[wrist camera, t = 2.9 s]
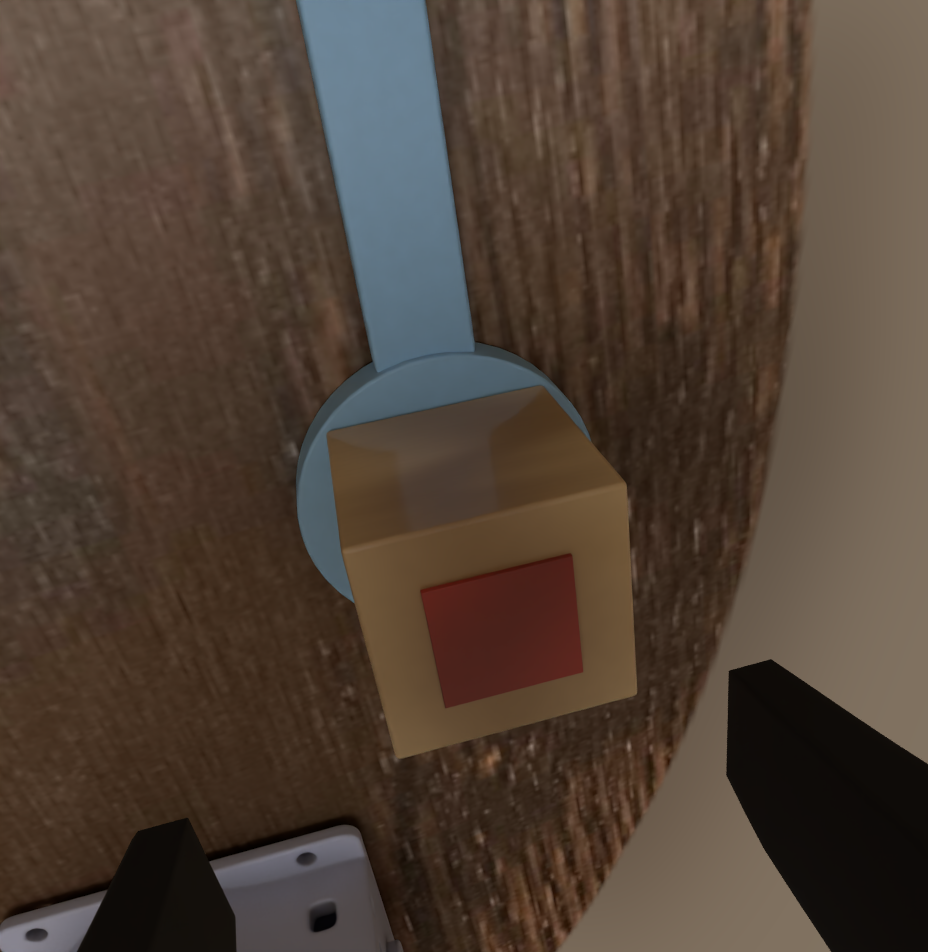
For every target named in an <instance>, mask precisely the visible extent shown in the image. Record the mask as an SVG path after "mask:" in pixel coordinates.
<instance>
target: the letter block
mask: <svg viewBox="0 0 928 952" xmlns="http://www.w3.org/2000/svg"><path fill="white" fill-rule="evenodd" d="M326 437H327V445H328V453H329V461H330V469H331V476H332V484H333V492H334V500H335V508H336V515H337V523H338V531H339V539H340V547H341V554H342V557H343V561H344V565H345V569H346V572H347V576H348V580H349V584H350V587H351V591H352V595H353V599H354V602H355V606H356V610H357V614H358V617H359V621H360V625H361V629H362V633H363V636H364V640H365V644H366V648H367V651H368V655H369V659H370V663H371V666H372V670H373V674H374V678H375V681H376V685H377V689H378V693H379V696H380V700H381V704H382V708H383V711H384V715H385V719H386V723H387V727H388V730H389V734H390V738H391V742H392V745H393V749H394V753H395V755H396V757H397V758H398V759H402V758H406V757H409V756H413V755H417V754H420V753H424V752H428V751H432V750H435V749H439V748H443V747H446V746H450V745H454V744H457V743H461V742H465V741H469V740H472V739H476V738H480V737H483V736H487V735H491V734H494V733H498V732H502V731H506V730H509V729H513V728H517V727H520V726H524V725H528V724H532V723H535V722H539V721H543V720H546V719H550V718H554V717H557V716H561V715H565V714H569V713H572V712H576V711H580V710H583V709H587V708H591V707H594V706H598V705H602V704H606V703H609V702H613V701H617V700H620V699H624V698H628V697H631V696H634V695H636V694H637V678H636V658H635V638H634V618H633V598H632V579H631V559H630V539H629V519H628V499H627V484H626V483H625V481H624V480H623V479H622V478H621V476H620V475H619V474H618V473H617V472H616V471H615V469H614V468H613V467H612V466H611V465H610V464H609V462H608V461H607V460H606V459H605V458H604V457H603V455H602V454H601V453H600V452H599V451H598V450H597V448H596V447H595V446H594V445H593V444H592V442H591V441H590V440H589V439H588V438H587V437H586V435H585V434H584V433H583V432H582V431H581V430H580V428H579V427H578V426H577V425H576V424H575V423H574V421H573V420H572V419H571V418H570V417H569V416H568V414H567V413H566V412H565V411H564V410H563V409H562V407H561V406H560V405H559V404H558V403H557V401H556V400H555V399H554V398H553V397H552V396H551V394H550V393H549V392H548V391H547V390H546V389H545V387H544V386H541V385H539V386H534V387H529V388H525V389H520V390H516V391H511V392H507V393H502V394H497V395H493V396H488V397H484V398H479V399H475V400H470V401H465V402H461V403H456V404H452V405H447V406H442V407H438V408H433V409H429V410H424V411H420V412H415V413H410V414H406V415H401V416H397V417H392V418H388V419H383V420H378V421H374V422H369V423H365V424H360V425H356V426H351V427H346V428H342V429H337V430H333V431H329V432H327V436H326Z"/></svg>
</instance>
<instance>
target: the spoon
mask: <svg viewBox="0 0 928 952" xmlns="http://www.w3.org/2000/svg"><path fill="white" fill-rule="evenodd" d="M296 4H297V8H298V13H299V18H300V22H301V27H302V32H303V36H304V41H305V46H306V51H307V55H308V60H309V65H310V69H311V74H312V79H313V84H314V88H315V93H316V98H317V102H318V107H319V112H320V117H321V121H322V126H323V131H324V135H325V140H326V145H327V150H328V154H329V159H330V164H331V168H332V173H333V178H334V182H335V187H336V192H337V197H338V201H339V206H340V211H341V215H342V220H343V225H344V230H345V234H346V239H347V244H348V248H349V253H350V258H351V263H352V267H353V272H354V277H355V281H356V286H357V291H358V296H359V300H360V305H361V310H362V314H363V319H364V324H365V329H366V333H367V338H368V343H369V347H370V352H371V357H372V361H373V362H372V363H370V364H368V365H366V366H365V367H363V368H361V369H360V370H359V371H357V372H356V373H355V374H353V375H352V376H351V377H350V378H348V379H347V380H346V381H345V382H344V383H343V384H342V385H341V386H339V387H338V388H337V389H336V390H335V391H334V392H333V393H332V394H331V396H330V397H329V398H328V399H327V401H326V402H325V403H324V405H323V406H322V407H321V408H320V410H319V411H318V413H317V415H316V416H315V418H314V420H313V422H312V423H311V425H310V427H309V429H308V431H307V434H306V436H305V439H304V441H303V444H302V447H301V451H300V455H299V459H298V464H297V475H296V495H297V515H298V522H299V526H300V531H301V536H302V538H303V541H304V543H305V546H306V549H307V551H308V553H309V555H310V557H311V559H312V560H313V562H314V564H315V566H316V567H317V568H318V570H319V571H320V572H321V574H322V575H323V576H324V577H325V579H326V580H327V581H328V582H329V583H330V584H331V585H332V586H333V587H334V588H335V589H336V590H337V591H339V592H340V593H341V594H342V595H344V596H345V597H347V598H348V599H349V600H351V601H352V602H353V603H355V602H354V599H353V595H352V591H351V587H350V584H349V580H348V576H347V572H346V569H345V565H344V561H343V557H342V554H341V547H340V539H339V531H338V523H337V515H336V508H335V500H334V492H333V484H332V476H331V469H330V461H329V453H328V445H327V437H326V436H327V432H329V431H333V430H337V429H342V428H346V427H351V426H356V425H360V424H365V423H369V422H374V421H378V420H383V419H388V418H392V417H397V416H401V415H406V414H410V413H415V412H420V411H424V410H429V409H433V408H438V407H442V406H447V405H452V404H456V403H461V402H465V401H470V400H475V399H479V398H484V397H488V396H493V395H497V394H502V393H507V392H511V391H516V390H520V389H525V388H529V387H534V386H539V385H541V386H544V387H545V389H546V390H547V391H548V392H549V393H550V394H551V396H552V397H553V398H554V399H555V400H556V401H557V403H558V404H559V405H560V406H561V407H562V409H563V410H564V411H565V412H566V413H567V414H568V416H569V417H570V418H571V419H572V420H573V421H574V423H575V424H576V425H577V426H578V427H579V428H580V430H581V431H582V432H583V433H584V434H585V435H586V437H587V438H588V439H589V440H590V441H591V439H590V436H589V433H588V431H587V429H586V426H585V424H584V422H583V420H582V418H581V416H580V415H579V413H578V412H577V410H576V409H575V408H574V406H573V405H572V403H571V402H570V401H569V400H568V399H567V397H566V396H565V395H564V394H563V393H562V392H561V391H560V390H559V389H558V387H557V386H556V385H555V384H554V383H553V382H552V381H551V380H550V379H549V378H548V377H547V376H546V375H545V374H544V373H543V372H541V371H540V370H539V369H538V368H536V367H535V366H534V365H533V364H531V363H529V362H528V361H526V360H524V359H523V358H521V357H519V356H517V355H515V354H513V353H511V352H508V351H506V350H503V349H501V348H498V347H494V346H490V345H486V344H482V343H476V342H475V341H474V334H473V327H472V320H471V313H470V306H469V299H468V292H467V285H466V278H465V272H464V265H463V258H462V251H461V244H460V237H459V230H458V223H457V216H456V209H455V202H454V195H453V188H452V181H451V174H450V167H449V160H448V153H447V146H446V139H445V132H444V125H443V118H442V111H441V105H440V98H439V91H438V84H437V77H436V70H435V63H434V56H433V49H432V42H431V35H430V28H429V21H428V14H427V7H426V0H296Z"/></svg>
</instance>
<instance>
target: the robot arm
mask: <svg viewBox="0 0 928 952" xmlns="http://www.w3.org/2000/svg"><path fill="white" fill-rule="evenodd" d="M728 690H729V691H728V730H727V772H726V773H727V774H726V775H727V777H728V779H729V781H730V783H731V785H732V787H733V789H734V791H735V793H736V795H737V797H738V799H739V801H740V803H741V805H742V808H743V809H744V812H745V814H746V815H747V817H748V819H749V821H750V823H751V825H752V827H753V829H754V831H755V833H756V834H757V837H758V838H759V840H760V842H761V844H762V846H763V848H764V849H765V851H766V853H767V854H768V856H769V857H770V859H771V860H772V862H773V864H774V865H775V867H776V868H777V870H778V871H779V873H780V874H781V876H782V878H783V879H784V881H785V882H786V884H787V885H788V887H789V888H790V890H791V891H792V893H793V894H794V896H795V897H796V899H797V901H798V902H799V903H800V905H801V907H802V908H803V910H804V911H805V913H806V914H807V916H808V917H809V919H810V920H811V922H812V923H813V925H814V926H815V928H816V929H817V931H818V932H819V934H820V935H821V937H822V938H823V940H824V941H825V943H826V945H827V946H828V947H829V949H830V951H831V952H928V764H927V763H925V762H924V761H922V760H921V759H919V758H918V757H916V756H914V755H913V754H911V753H910V752H908V751H907V750H905V749H904V748H902V747H900V746H899V745H897V744H896V743H894V742H893V741H891V740H890V739H888V738H887V737H885V736H884V735H882V734H880V733H879V732H878V731H876V730H875V729H873V728H871V727H870V726H869V725H867V724H866V723H864V722H863V721H861V720H860V719H858V718H857V717H855V716H854V715H852V714H851V713H849V712H848V711H846V710H845V709H843V708H842V707H840V706H839V705H838V704H836V703H835V702H833V701H832V700H830V699H829V698H827V697H826V696H824V695H823V694H821V693H820V692H819V691H817V690H816V689H814V688H813V687H811V686H810V685H808V684H807V683H805V682H804V681H802V680H801V679H799V678H798V677H797V676H795V675H794V674H792V673H791V672H789V671H788V670H786V669H785V668H783V667H782V666H780V665H779V664H777V663H776V662H774V661H773V660H771V659H770V660H767V661H763V662H759V663H756V664H752V665H748V666H745V667H741V668H737V669H734V670H730V671H729V687H728ZM307 852H309V853H307ZM0 949H1V951H2V952H404V951H403V948H402V944H401V942H400V941H399V940H398V939H397V940H394V937H393V934H392V931H391V927H390V924H389V921H388V918H387V915H386V912H385V909H384V905H383V902H382V899H381V896H380V893H379V890H378V887H377V883H376V880H375V877H374V874H373V871H372V868H371V865H370V861H369V858H368V855H367V852H366V849H365V846H364V843H363V839H362V836H361V833H360V831H359V830H358V829H357V828H356V827H354V826H351V825H339V826H335V827H331V828H328V829H324V830H321V831H317V832H313V833H310V834H306V835H303V836H299V837H295V838H292V839H288V840H285V841H281V842H277V843H274V844H270V845H267V846H263V847H259V848H256V849H252V850H248V851H245V852H241V853H238V854H234V855H230V856H227V857H223V858H220V859H216V860H212V861H208V858H207V856H206V854H205V852H204V850H203V848H202V846H201V844H200V842H199V840H198V838H197V836H196V834H195V832H194V830H193V827H192V825H191V823H190V821H189V819H188V818H185V819H181V820H177V821H174V822H170V823H166V824H162V825H159V826H155V827H151V828H148V829H144V830H140V831H138V832H137V833H136V835H135V836H134V838H133V839H132V841H131V843H130V845H129V847H128V849H127V851H126V853H125V855H124V857H123V859H122V861H121V863H120V865H119V867H118V870H117V872H116V874H115V876H114V878H113V880H112V882H111V884H110V886H109V888H108V890H104V891H101V892H97V893H94V894H90V895H86V896H83V897H79V898H76V899H72V900H68V901H65V902H61V903H58V904H54V905H50V906H47V907H43V908H40V909H36V910H32V911H29V912H25V913H22V914H18V915H14V916H12V917H10V918H7V919H5V920H4V921H3V922H2V923H1V924H0Z"/></svg>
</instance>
